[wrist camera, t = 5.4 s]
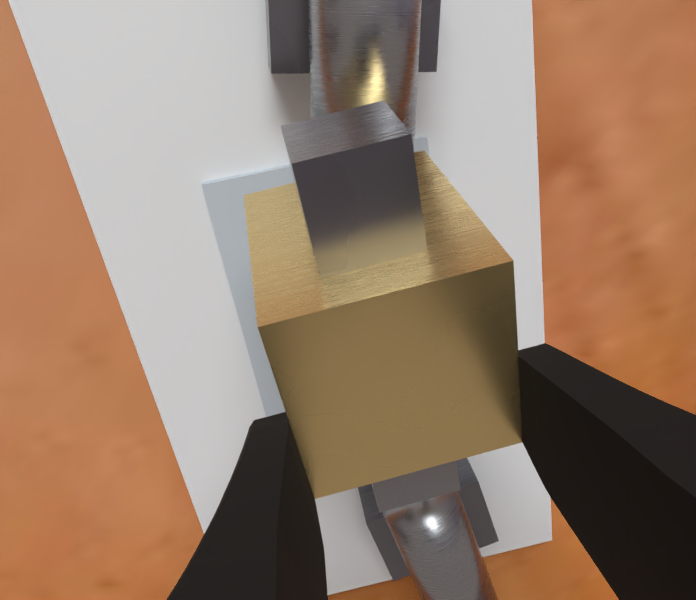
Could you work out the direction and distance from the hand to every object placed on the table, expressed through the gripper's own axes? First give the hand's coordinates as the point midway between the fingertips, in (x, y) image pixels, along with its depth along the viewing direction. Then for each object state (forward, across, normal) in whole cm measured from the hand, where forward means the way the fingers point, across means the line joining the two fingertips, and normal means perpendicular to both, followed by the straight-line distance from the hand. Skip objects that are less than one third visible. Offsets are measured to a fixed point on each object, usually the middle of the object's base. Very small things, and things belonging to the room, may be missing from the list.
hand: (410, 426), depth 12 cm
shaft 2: (+9, -1, +10) cm, 14 cm away
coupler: (+5, 0, -2) cm, 5 cm away
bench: (+10, 0, +2) cm, 10 cm away
